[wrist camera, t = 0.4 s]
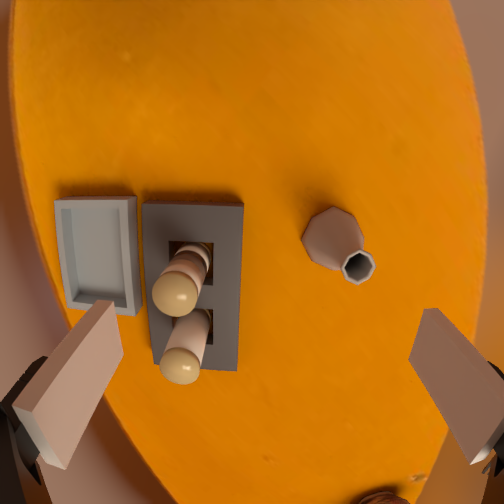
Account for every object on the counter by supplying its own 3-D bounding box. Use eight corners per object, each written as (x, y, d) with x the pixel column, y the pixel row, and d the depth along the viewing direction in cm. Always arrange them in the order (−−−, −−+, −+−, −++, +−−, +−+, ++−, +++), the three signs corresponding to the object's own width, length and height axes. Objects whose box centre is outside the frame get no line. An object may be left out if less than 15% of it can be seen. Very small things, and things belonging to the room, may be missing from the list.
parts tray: (66, 196, 35) (54, 200, 32) (136, 195, 35) (127, 199, 33) (77, 298, 39) (67, 307, 37) (142, 305, 40) (135, 316, 37)
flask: (289, 240, 37) (302, 270, 28) (333, 194, 35) (361, 210, 26) (331, 279, 39) (354, 318, 29) (373, 236, 37) (408, 264, 27)
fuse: (179, 301, 39) (157, 351, 29) (211, 303, 39) (198, 354, 29) (181, 328, 41) (161, 382, 30) (211, 330, 41) (200, 386, 30)
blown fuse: (177, 239, 37) (150, 273, 26) (211, 240, 37) (196, 276, 27) (178, 271, 38) (153, 314, 28) (211, 273, 38) (197, 318, 28)
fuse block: (148, 200, 36) (141, 203, 33) (243, 203, 36) (243, 206, 33) (158, 353, 42) (154, 364, 39) (237, 359, 42) (236, 371, 40)
